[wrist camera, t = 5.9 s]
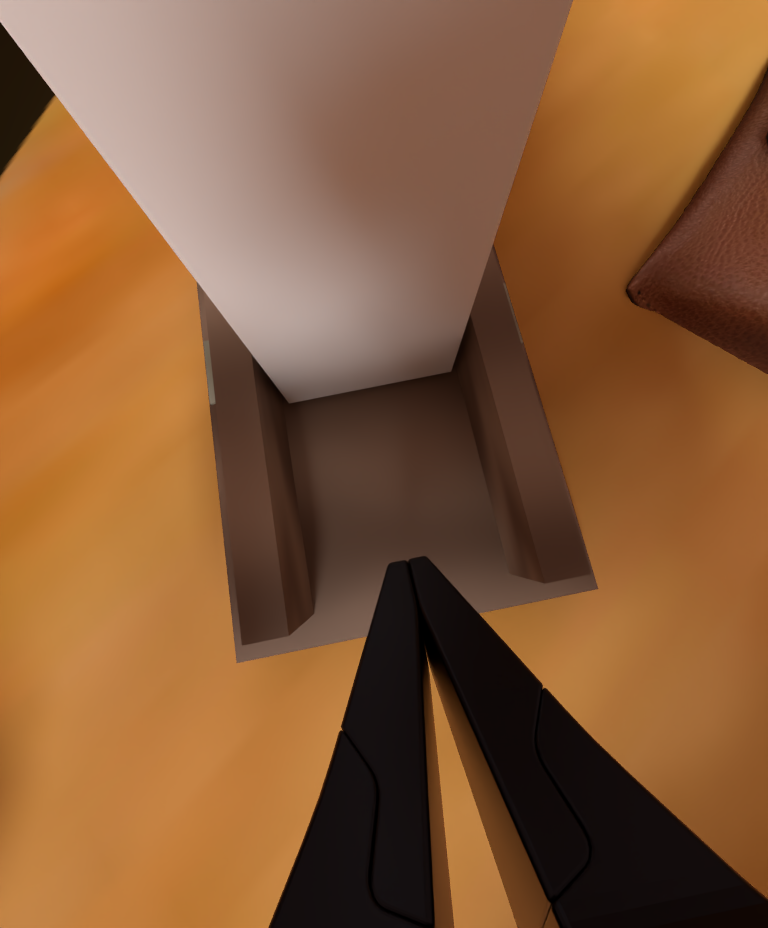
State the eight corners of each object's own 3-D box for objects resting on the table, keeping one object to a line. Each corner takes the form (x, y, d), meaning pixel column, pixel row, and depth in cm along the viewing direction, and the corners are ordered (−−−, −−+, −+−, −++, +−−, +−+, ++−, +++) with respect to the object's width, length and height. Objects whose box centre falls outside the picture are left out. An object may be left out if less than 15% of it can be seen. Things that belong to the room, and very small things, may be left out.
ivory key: (452, 372, 14) (1237, -1937, 1) (287, 404, 14) (-1290, -1637, 1) (422, 254, 15) (599, -1579, 2) (269, 283, 15) (-560, -1432, 2)
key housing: (576, 583, 14) (693, 610, 8) (253, 650, 14) (161, 720, 8) (468, 214, 17) (501, 64, 12) (209, 263, 17) (124, 134, 12)
